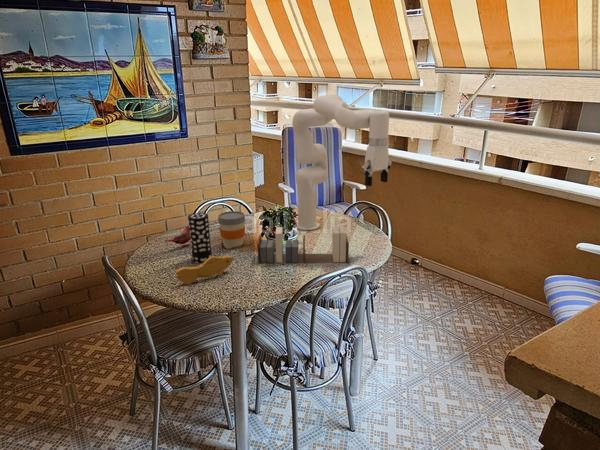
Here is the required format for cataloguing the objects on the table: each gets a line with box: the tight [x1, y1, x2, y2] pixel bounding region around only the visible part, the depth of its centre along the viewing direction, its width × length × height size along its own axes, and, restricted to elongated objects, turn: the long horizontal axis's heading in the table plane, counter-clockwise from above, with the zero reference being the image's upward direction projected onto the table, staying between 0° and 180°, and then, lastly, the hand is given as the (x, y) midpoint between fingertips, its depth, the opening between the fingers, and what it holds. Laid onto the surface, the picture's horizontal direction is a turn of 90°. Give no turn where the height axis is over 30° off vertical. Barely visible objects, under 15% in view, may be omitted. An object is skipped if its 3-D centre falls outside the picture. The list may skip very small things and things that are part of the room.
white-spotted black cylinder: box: [187, 212, 213, 264], centre depth 175 cm, size 8×8×20 cm
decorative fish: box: [175, 254, 233, 285], centre depth 159 cm, size 22×3×10 cm, turn 118°
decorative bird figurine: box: [164, 224, 191, 248], centre depth 190 cm, size 3×18×10 cm, turn 140°
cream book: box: [274, 226, 284, 263], centre depth 172 cm, size 8×2×13 cm, turn 178°
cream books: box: [331, 225, 347, 262], centre depth 171 cm, size 8×5×13 cm, turn 178°
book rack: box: [256, 233, 350, 265], centre depth 173 cm, size 10×38×10 cm, turn 88°
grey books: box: [260, 239, 299, 263], centre depth 173 cm, size 8×16×7 cm, turn 88°
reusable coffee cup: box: [217, 210, 246, 250], centre depth 190 cm, size 13×13×15 cm
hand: (376, 183), depth 171 cm, fingers open, 9 cm apart
